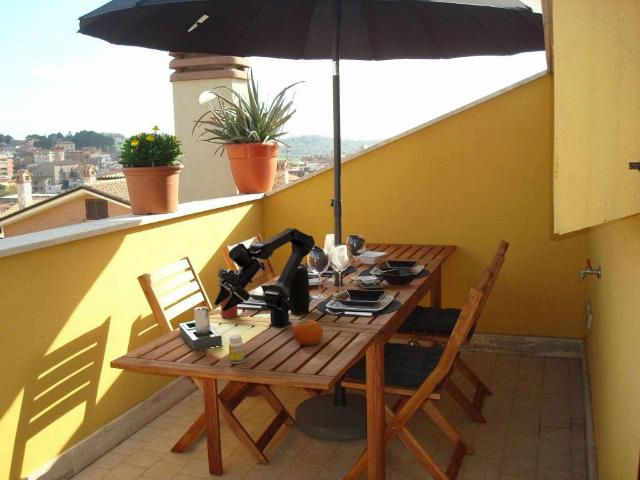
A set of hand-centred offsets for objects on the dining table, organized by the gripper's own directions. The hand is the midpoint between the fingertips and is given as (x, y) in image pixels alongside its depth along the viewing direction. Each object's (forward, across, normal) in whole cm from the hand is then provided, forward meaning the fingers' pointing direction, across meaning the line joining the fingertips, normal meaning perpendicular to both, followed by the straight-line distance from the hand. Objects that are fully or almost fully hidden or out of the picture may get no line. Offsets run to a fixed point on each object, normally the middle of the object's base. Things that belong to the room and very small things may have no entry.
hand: (219, 307), depth 224 cm
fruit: (-9, +20, +27) cm, 34 cm away
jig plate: (+13, -5, +4) cm, 15 cm away
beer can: (0, -28, +18) cm, 33 cm away
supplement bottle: (+10, +23, +8) cm, 26 cm away
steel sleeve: (+13, 0, +4) cm, 14 cm away
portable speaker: (-19, -17, +36) cm, 44 cm away
